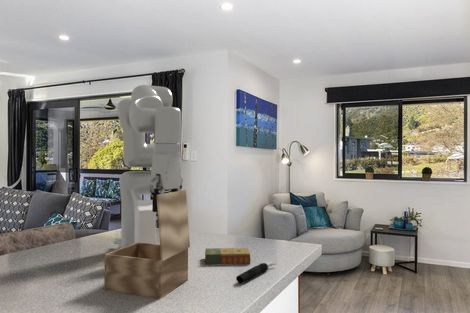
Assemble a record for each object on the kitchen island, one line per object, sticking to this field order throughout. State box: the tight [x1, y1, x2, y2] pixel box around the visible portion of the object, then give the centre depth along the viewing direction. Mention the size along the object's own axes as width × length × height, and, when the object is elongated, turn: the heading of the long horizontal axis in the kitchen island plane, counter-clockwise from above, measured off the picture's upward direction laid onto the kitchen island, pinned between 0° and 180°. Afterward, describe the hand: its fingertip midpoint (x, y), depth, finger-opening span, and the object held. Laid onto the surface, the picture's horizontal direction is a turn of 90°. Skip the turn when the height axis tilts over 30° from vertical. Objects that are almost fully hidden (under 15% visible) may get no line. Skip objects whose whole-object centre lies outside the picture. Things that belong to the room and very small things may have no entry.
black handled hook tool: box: [235, 262, 277, 285], centre depth 119 cm, size 22×4×3 cm, turn 148°
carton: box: [204, 247, 251, 265], centre depth 134 cm, size 8×16×4 cm, turn 94°
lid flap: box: [157, 189, 191, 261], centre depth 106 cm, size 17×16×1 cm
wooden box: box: [103, 242, 189, 300], centre depth 109 cm, size 18×16×10 cm
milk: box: [135, 199, 157, 244], centre depth 132 cm, size 6×6×22 cm
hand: (166, 209), depth 107 cm, fingers open, 9 cm apart
